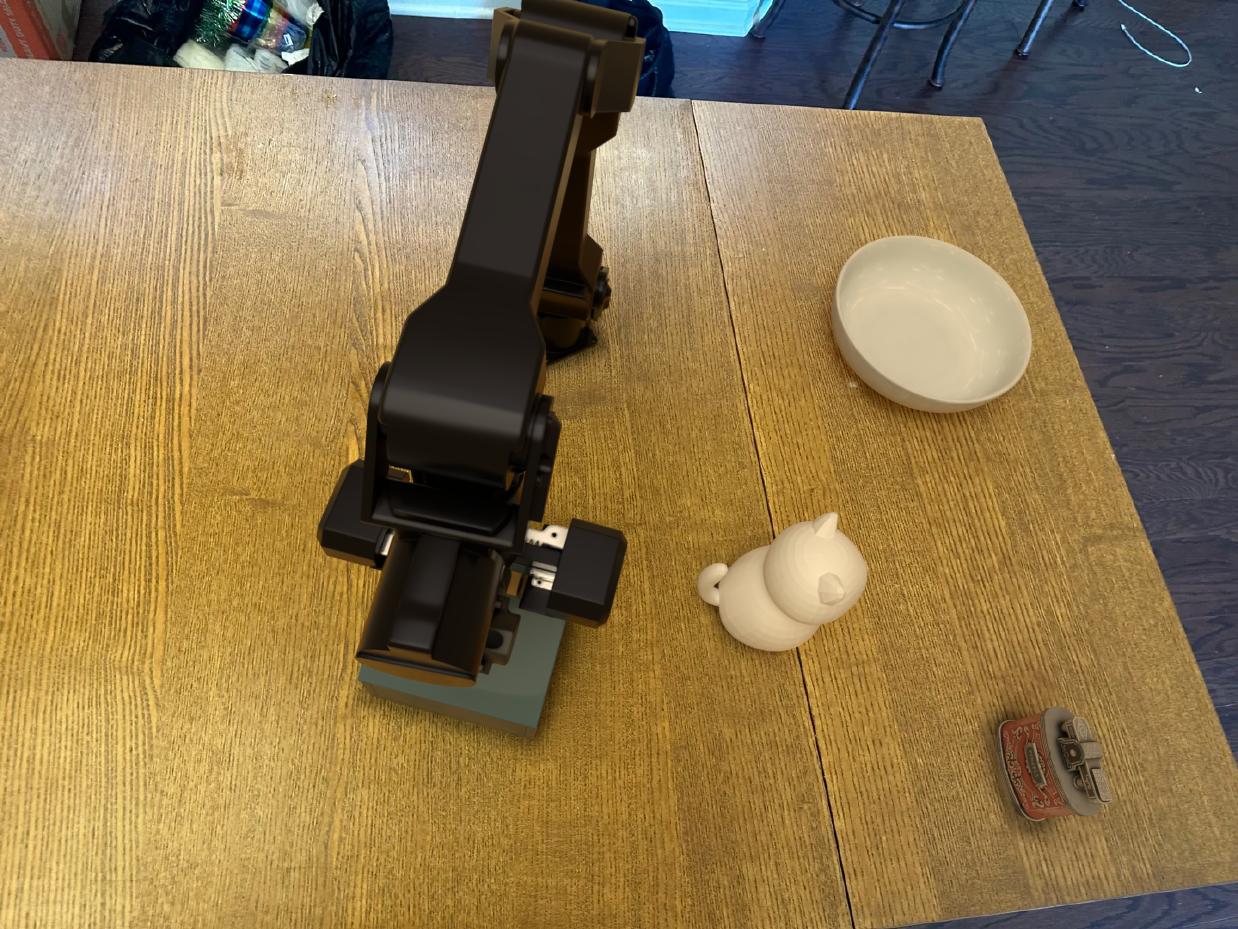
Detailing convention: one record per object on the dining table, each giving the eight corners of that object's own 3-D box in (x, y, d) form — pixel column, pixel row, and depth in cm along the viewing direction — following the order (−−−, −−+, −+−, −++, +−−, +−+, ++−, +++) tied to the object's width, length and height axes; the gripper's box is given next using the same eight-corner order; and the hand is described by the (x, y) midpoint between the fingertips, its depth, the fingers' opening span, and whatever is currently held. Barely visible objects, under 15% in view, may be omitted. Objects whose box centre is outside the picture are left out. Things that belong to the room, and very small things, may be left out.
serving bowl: (878, 461, 81) (908, 428, 75) (778, 302, 89) (799, 260, 83) (1034, 402, 87) (1074, 366, 81) (929, 257, 95) (958, 215, 89)
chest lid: (405, 518, 60) (388, 520, 56) (581, 566, 60) (579, 572, 56) (359, 678, 60) (339, 693, 55) (537, 726, 60) (531, 745, 55)
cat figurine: (824, 662, 71) (899, 614, 58) (685, 654, 70) (728, 603, 57) (816, 566, 75) (883, 500, 62) (684, 556, 74) (724, 487, 61)
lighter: (986, 722, 71) (1056, 701, 62) (1021, 720, 71) (1095, 698, 62) (1014, 823, 67) (1092, 815, 58) (1050, 820, 68) (1134, 812, 59)
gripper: (245, 590, 41) (311, 654, 55) (598, 686, 42) (574, 726, 56) (330, 407, 46) (371, 509, 60) (645, 494, 46) (613, 575, 60)
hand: (479, 580), depth 59 cm, fingers closed on chest lid, 6 cm apart
